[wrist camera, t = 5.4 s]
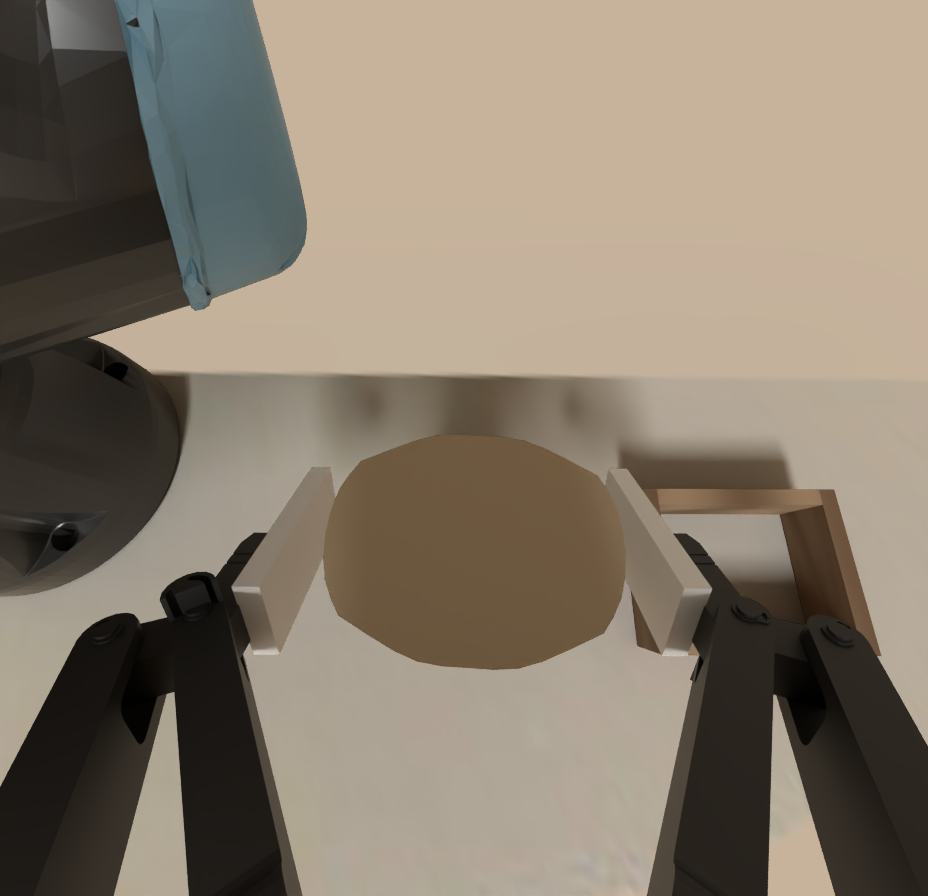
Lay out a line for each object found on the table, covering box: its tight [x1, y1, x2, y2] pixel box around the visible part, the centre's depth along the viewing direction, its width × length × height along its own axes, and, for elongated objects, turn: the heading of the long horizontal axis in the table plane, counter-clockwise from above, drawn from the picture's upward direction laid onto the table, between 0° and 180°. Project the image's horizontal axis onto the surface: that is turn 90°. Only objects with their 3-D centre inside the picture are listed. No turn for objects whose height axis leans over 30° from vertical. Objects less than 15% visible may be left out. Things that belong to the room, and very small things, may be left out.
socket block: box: [631, 489, 881, 656], centre depth 22 cm, size 10×8×3 cm
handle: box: [323, 435, 626, 670], centre depth 16 cm, size 5×6×15 cm
